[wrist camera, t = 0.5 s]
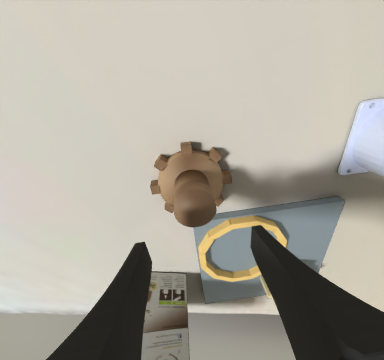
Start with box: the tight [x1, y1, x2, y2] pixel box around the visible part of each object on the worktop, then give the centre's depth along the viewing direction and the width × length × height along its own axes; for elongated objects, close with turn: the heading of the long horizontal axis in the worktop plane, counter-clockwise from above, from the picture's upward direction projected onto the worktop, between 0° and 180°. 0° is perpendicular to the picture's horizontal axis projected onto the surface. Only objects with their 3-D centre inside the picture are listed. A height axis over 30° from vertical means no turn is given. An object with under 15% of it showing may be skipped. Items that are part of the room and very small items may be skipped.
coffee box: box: [141, 272, 190, 360], centre depth 23 cm, size 9×6×16 cm
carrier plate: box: [193, 196, 345, 305], centre depth 25 cm, size 19×19×5 cm
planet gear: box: [150, 142, 232, 227], centre depth 18 cm, size 9×9×6 cm
